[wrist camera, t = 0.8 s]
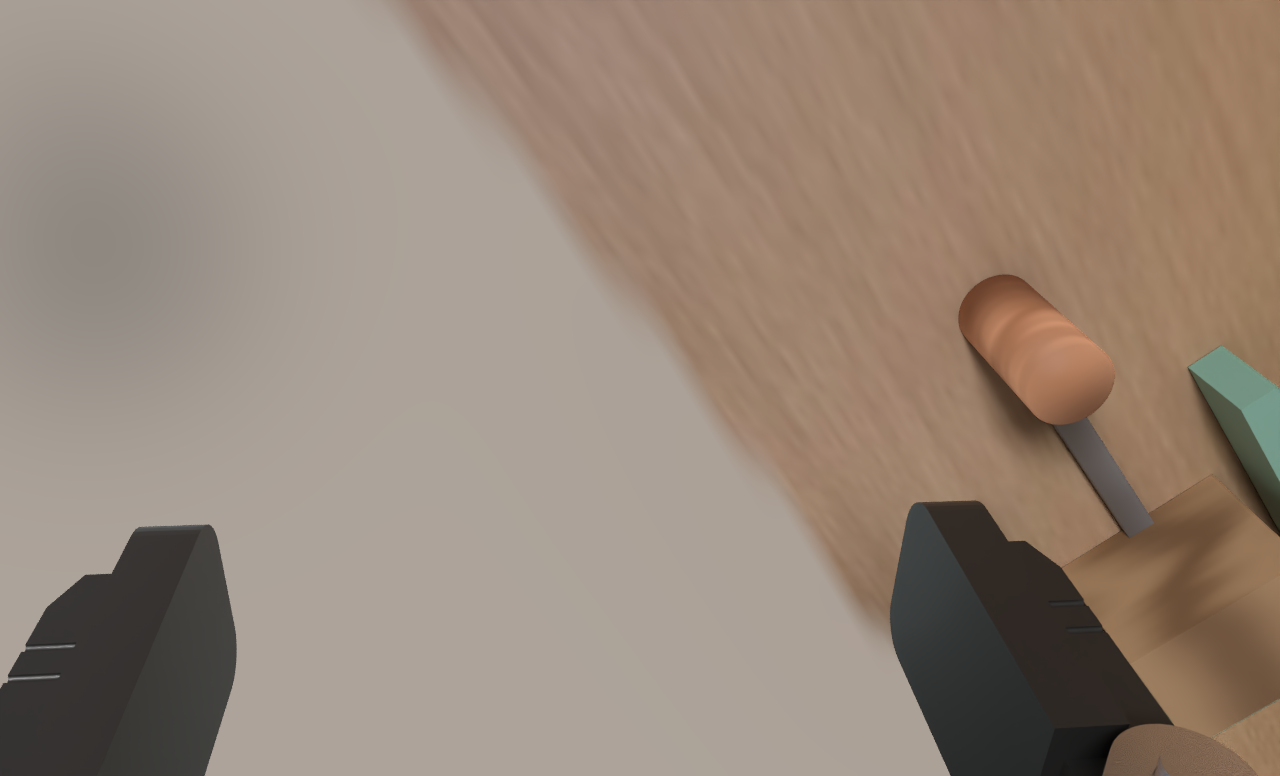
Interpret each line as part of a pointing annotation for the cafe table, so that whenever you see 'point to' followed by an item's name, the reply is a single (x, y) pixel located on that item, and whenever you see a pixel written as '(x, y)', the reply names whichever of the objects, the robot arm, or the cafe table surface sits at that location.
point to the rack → (1245, 420)
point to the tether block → (1146, 530)
